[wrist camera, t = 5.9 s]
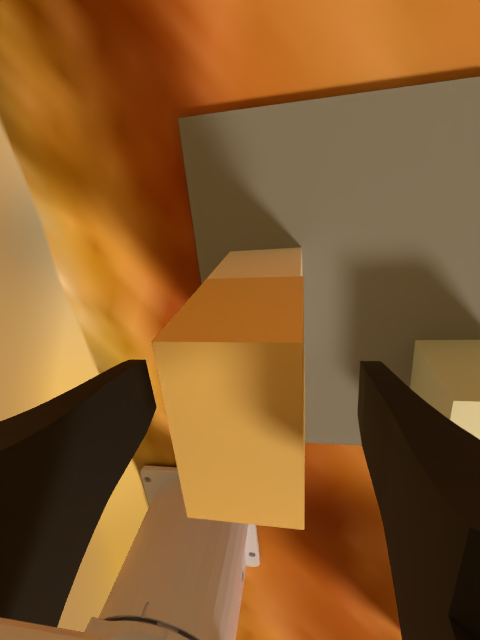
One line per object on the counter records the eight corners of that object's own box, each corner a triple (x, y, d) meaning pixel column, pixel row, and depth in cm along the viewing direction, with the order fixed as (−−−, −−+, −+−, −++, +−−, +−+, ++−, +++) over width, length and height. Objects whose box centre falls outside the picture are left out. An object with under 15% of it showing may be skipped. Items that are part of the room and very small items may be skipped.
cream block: (304, 357, 19) (304, 416, 14) (241, 356, 20) (222, 413, 15) (301, 247, 17) (300, 278, 12) (230, 251, 17) (203, 281, 13)
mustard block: (304, 415, 14) (304, 530, 10) (222, 411, 15) (187, 517, 11) (303, 276, 12) (302, 342, 8) (206, 278, 13) (151, 342, 8)
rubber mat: (541, 449, 19) (546, 454, 19) (224, 434, 23) (223, 438, 22) (669, 52, 12) (681, 48, 12) (180, 119, 16) (177, 118, 15)
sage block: (472, 436, 19) (523, 520, 15) (404, 433, 20) (433, 512, 15) (493, 339, 17) (562, 403, 12) (415, 340, 17) (453, 400, 13)
